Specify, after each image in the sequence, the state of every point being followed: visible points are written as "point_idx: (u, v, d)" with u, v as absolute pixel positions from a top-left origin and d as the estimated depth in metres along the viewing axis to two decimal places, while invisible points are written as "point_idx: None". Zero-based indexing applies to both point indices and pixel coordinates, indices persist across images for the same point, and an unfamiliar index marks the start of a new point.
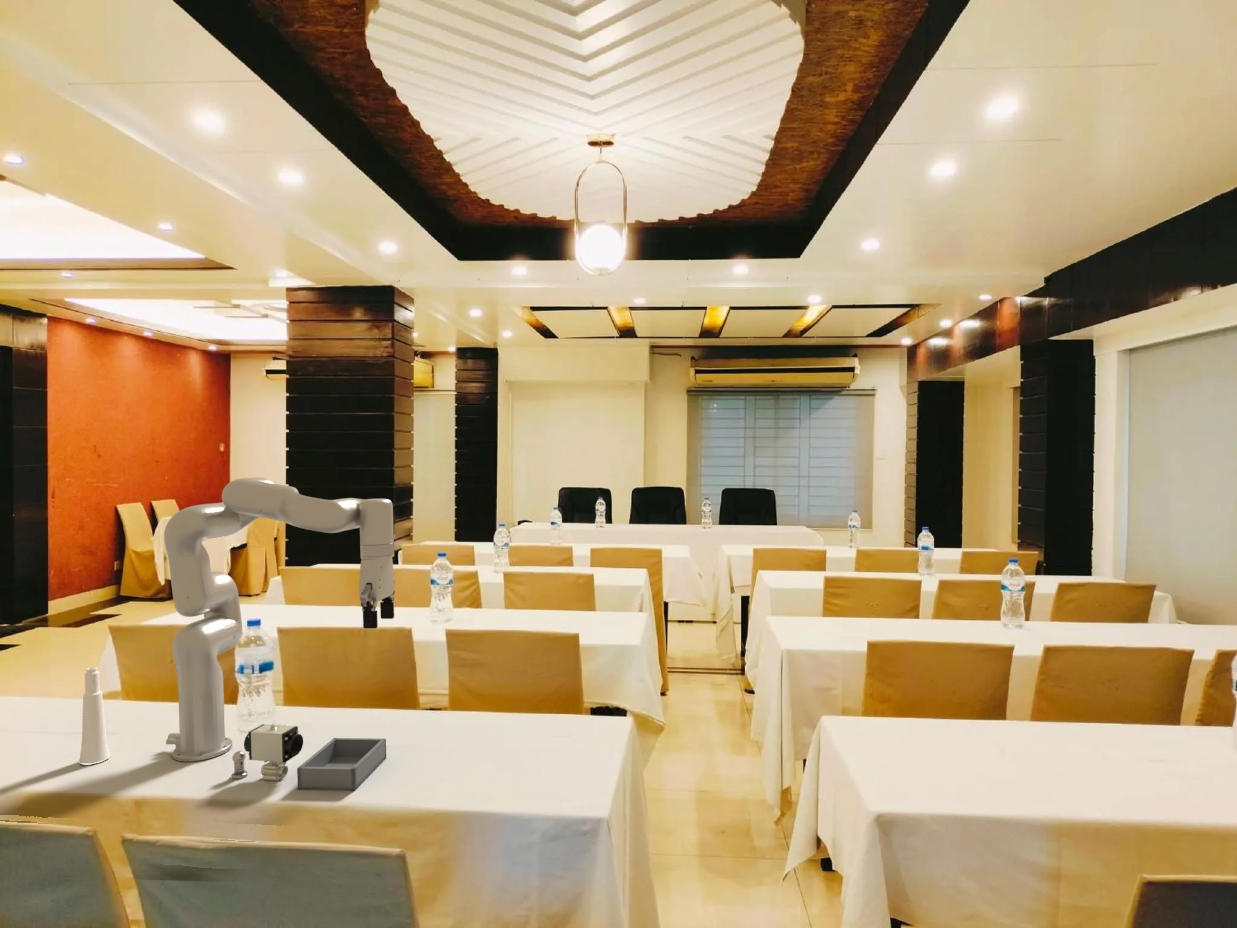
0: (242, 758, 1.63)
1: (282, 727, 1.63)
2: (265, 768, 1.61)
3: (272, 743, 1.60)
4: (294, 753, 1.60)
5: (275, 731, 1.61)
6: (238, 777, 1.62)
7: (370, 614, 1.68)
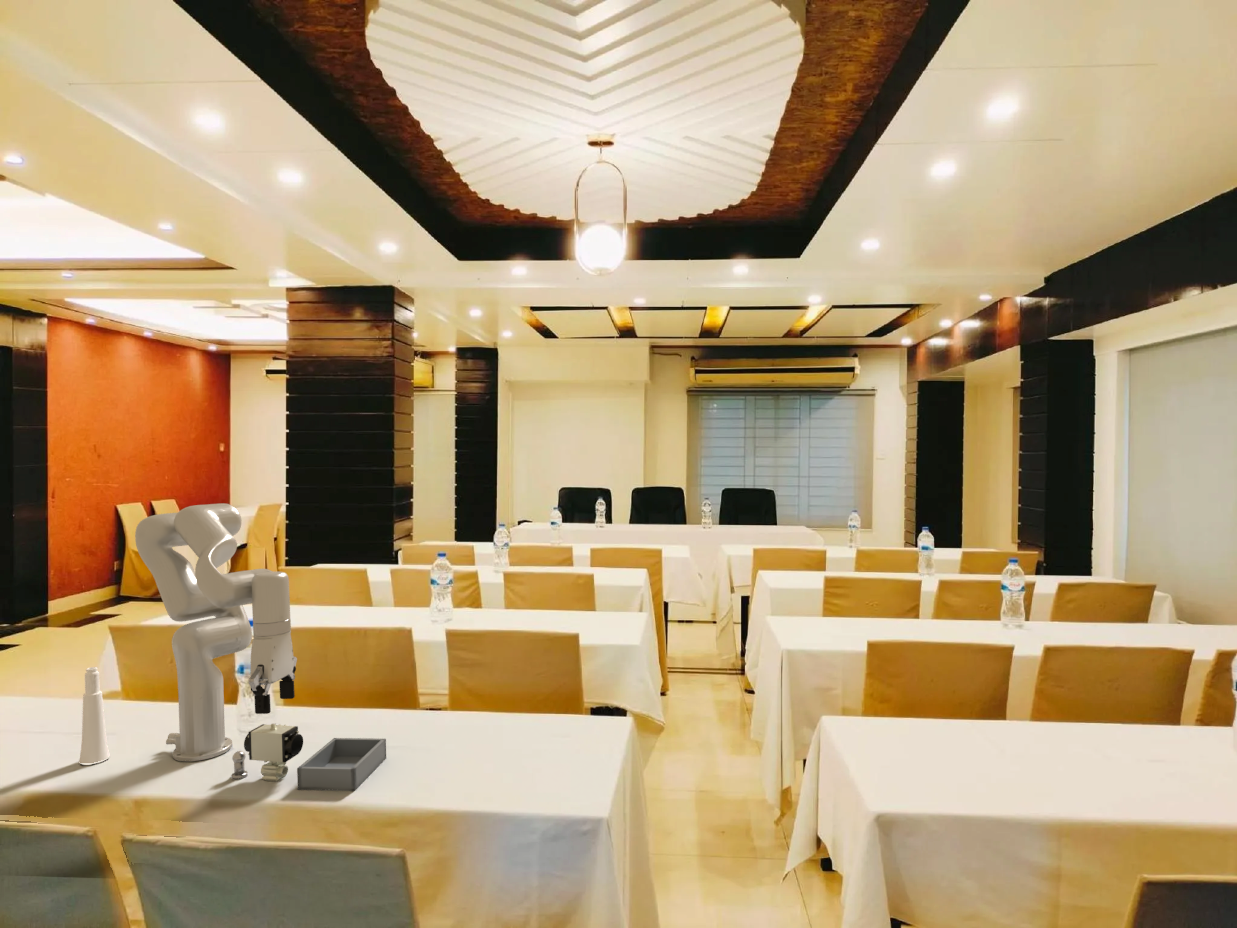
0: (242, 758, 1.63)
1: (282, 727, 1.63)
2: (265, 768, 1.61)
3: (272, 743, 1.60)
4: (294, 753, 1.60)
5: (275, 731, 1.61)
6: (238, 777, 1.62)
7: (262, 699, 1.56)
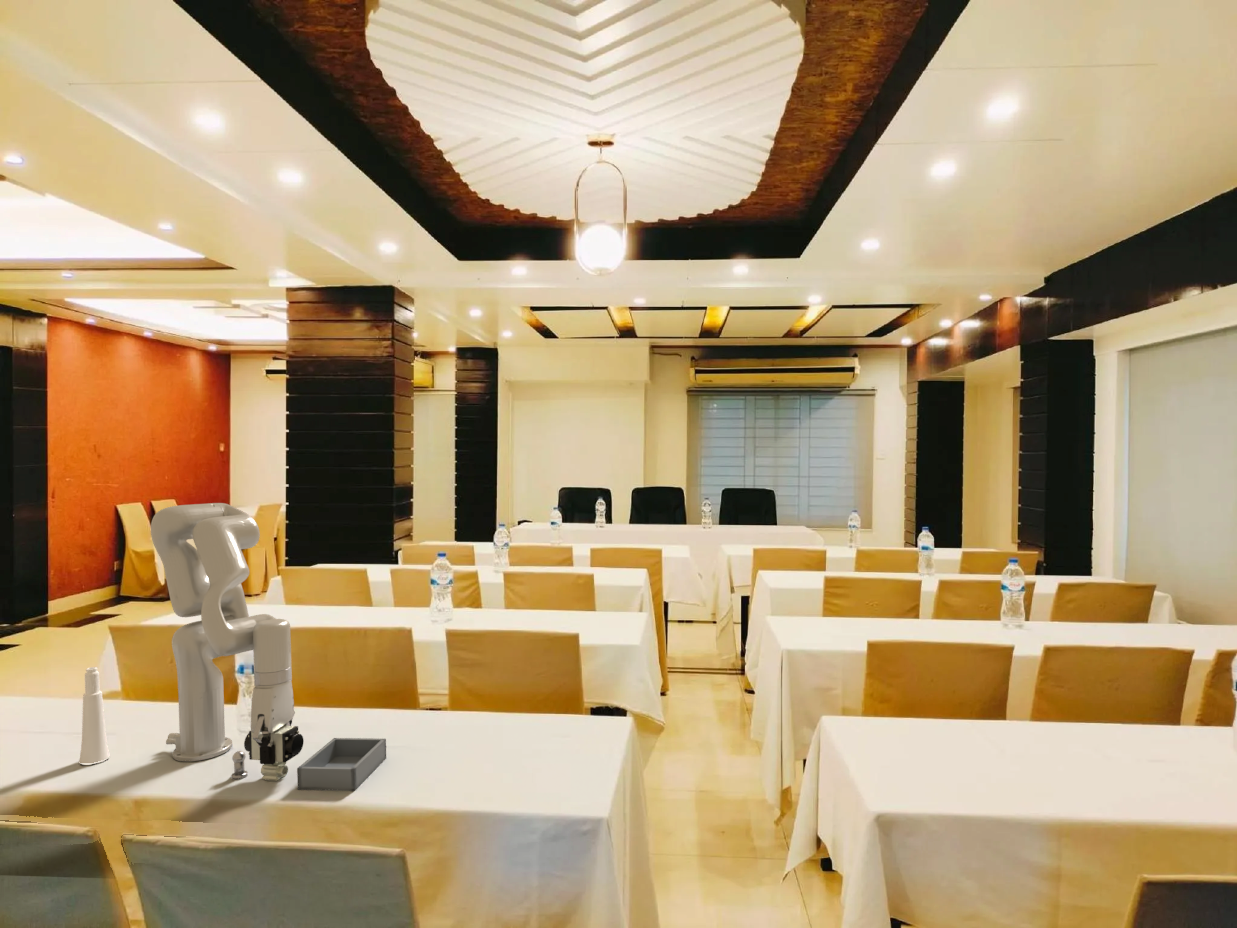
0: (242, 758, 1.63)
1: (282, 727, 1.63)
2: (265, 768, 1.61)
3: None
4: (294, 753, 1.60)
5: (275, 731, 1.61)
6: (238, 777, 1.62)
7: (267, 750, 1.58)
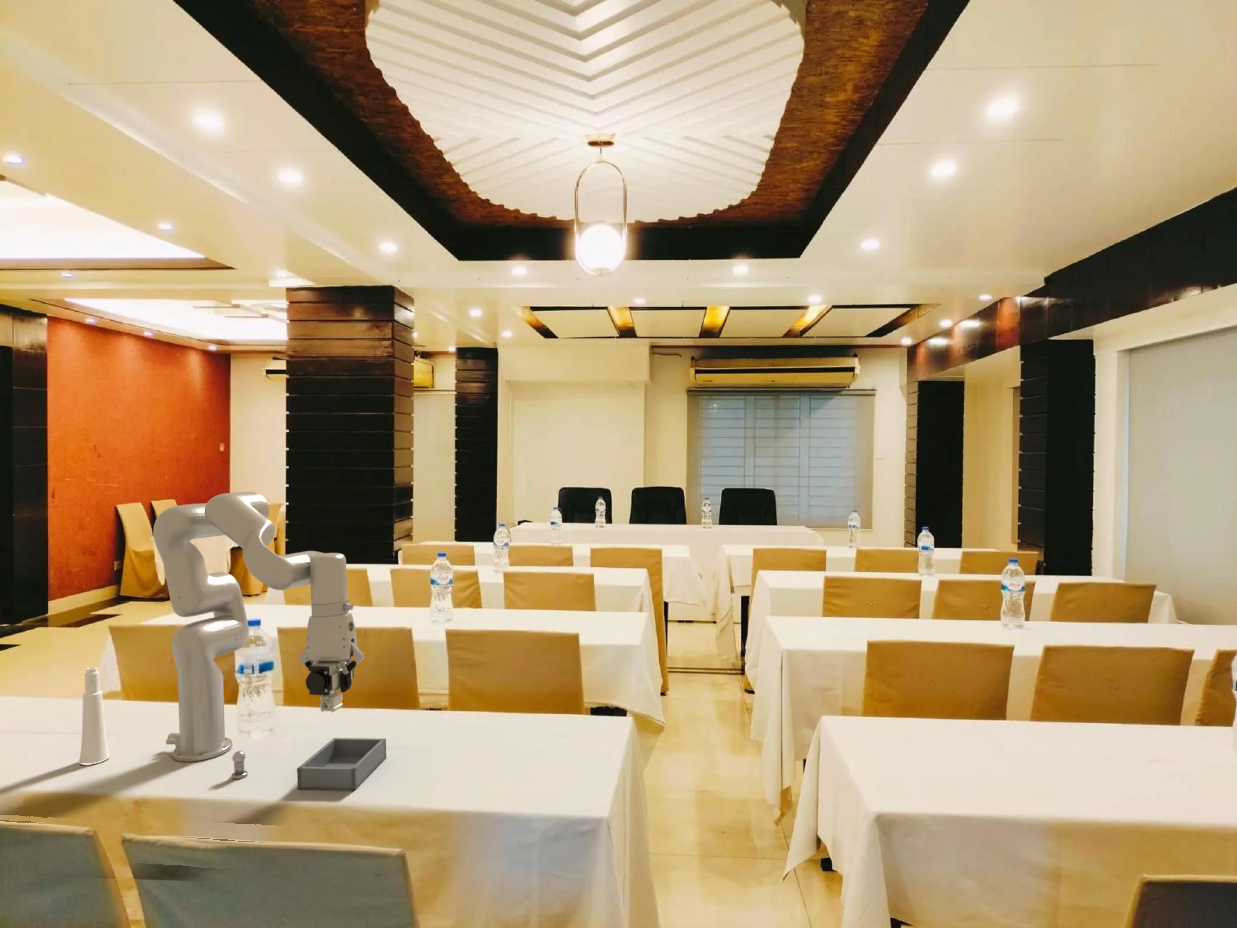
0: (242, 758, 1.63)
1: (331, 663, 1.62)
2: None
3: None
4: (310, 690, 1.58)
5: (321, 662, 1.62)
6: (238, 777, 1.62)
7: None
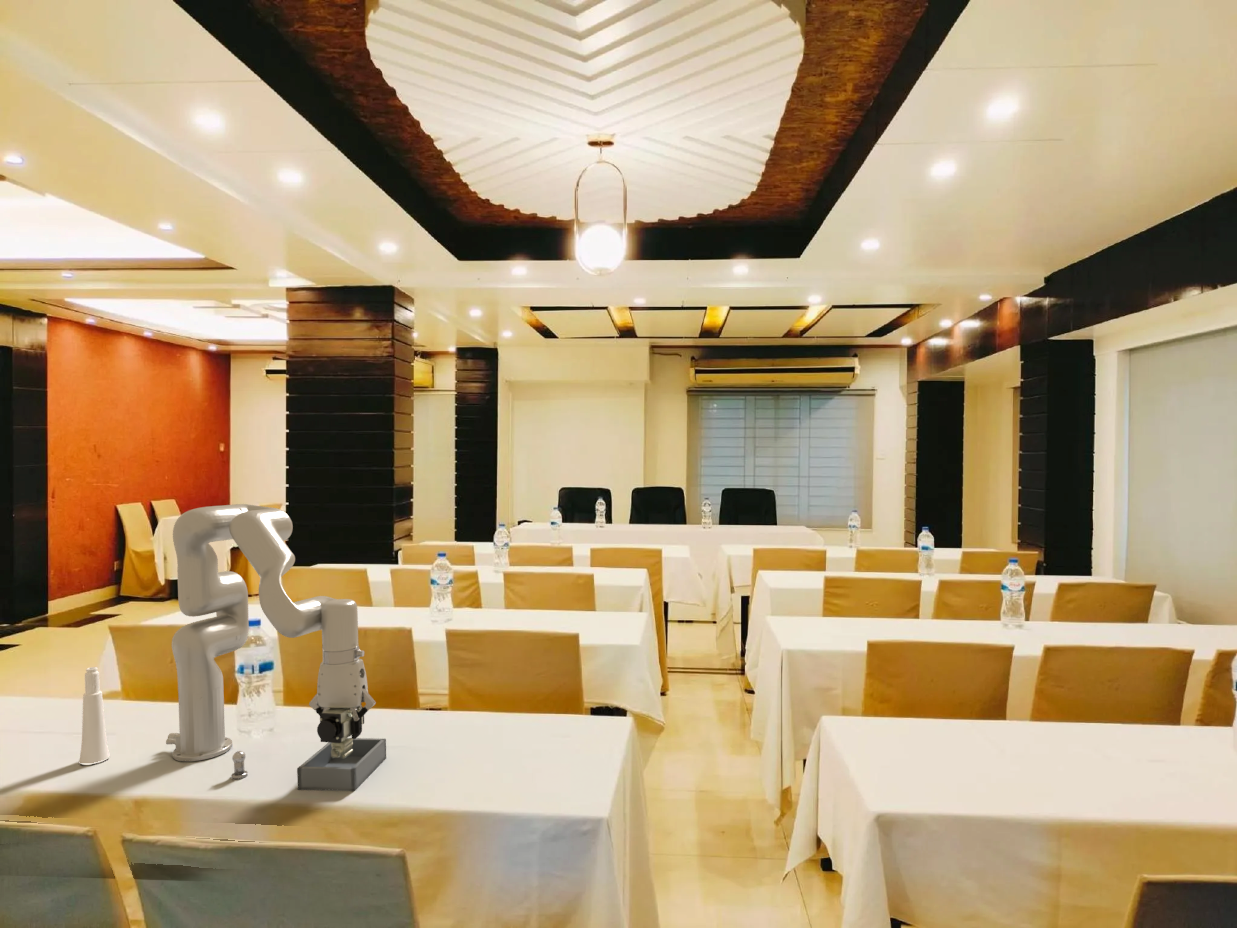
0: (242, 758, 1.63)
1: (342, 709, 1.62)
2: None
3: None
4: (321, 737, 1.58)
5: (332, 709, 1.63)
6: (238, 777, 1.62)
7: None
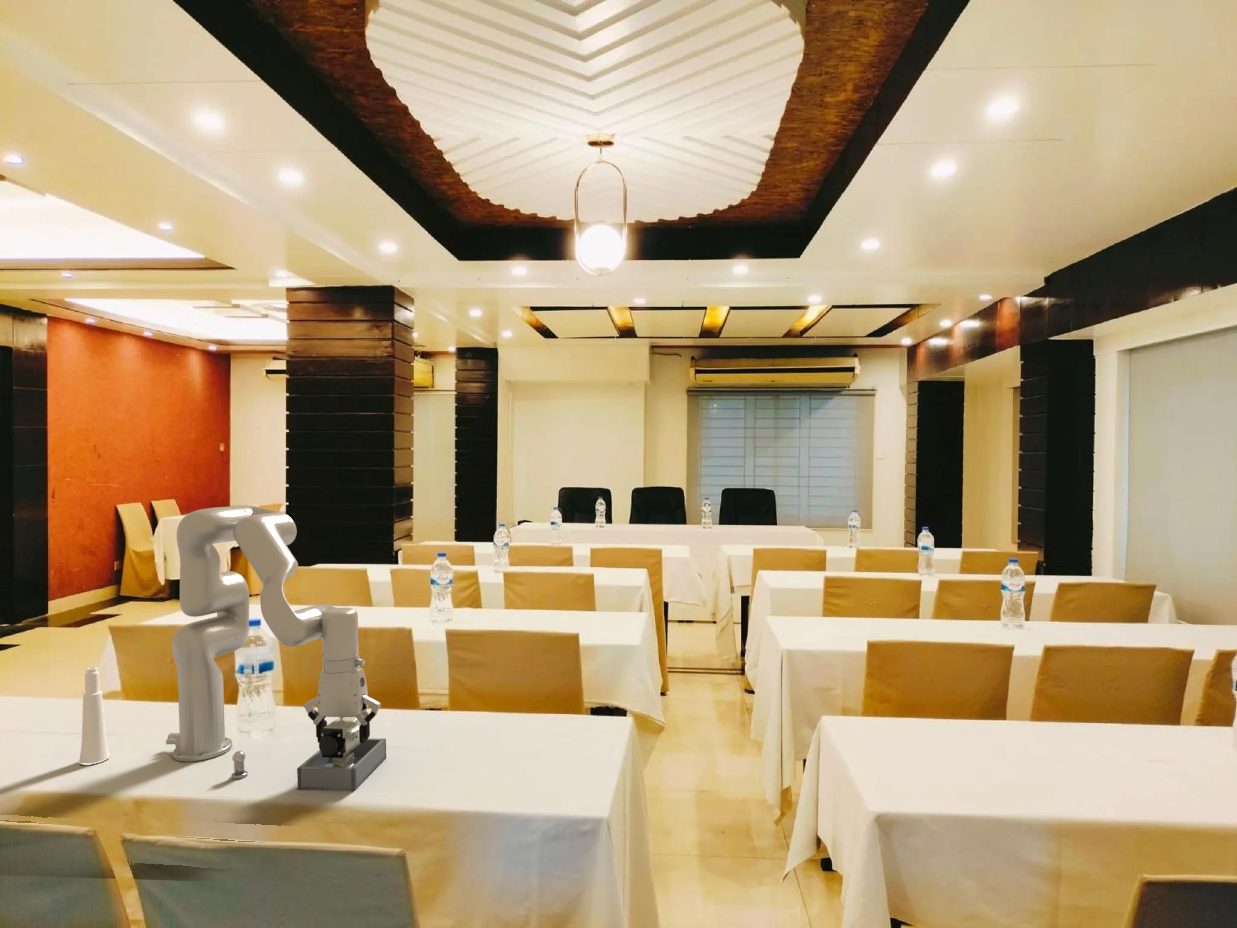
0: (242, 758, 1.63)
1: (343, 724, 1.62)
2: None
3: None
4: (323, 753, 1.58)
5: (333, 724, 1.63)
6: (238, 777, 1.62)
7: None
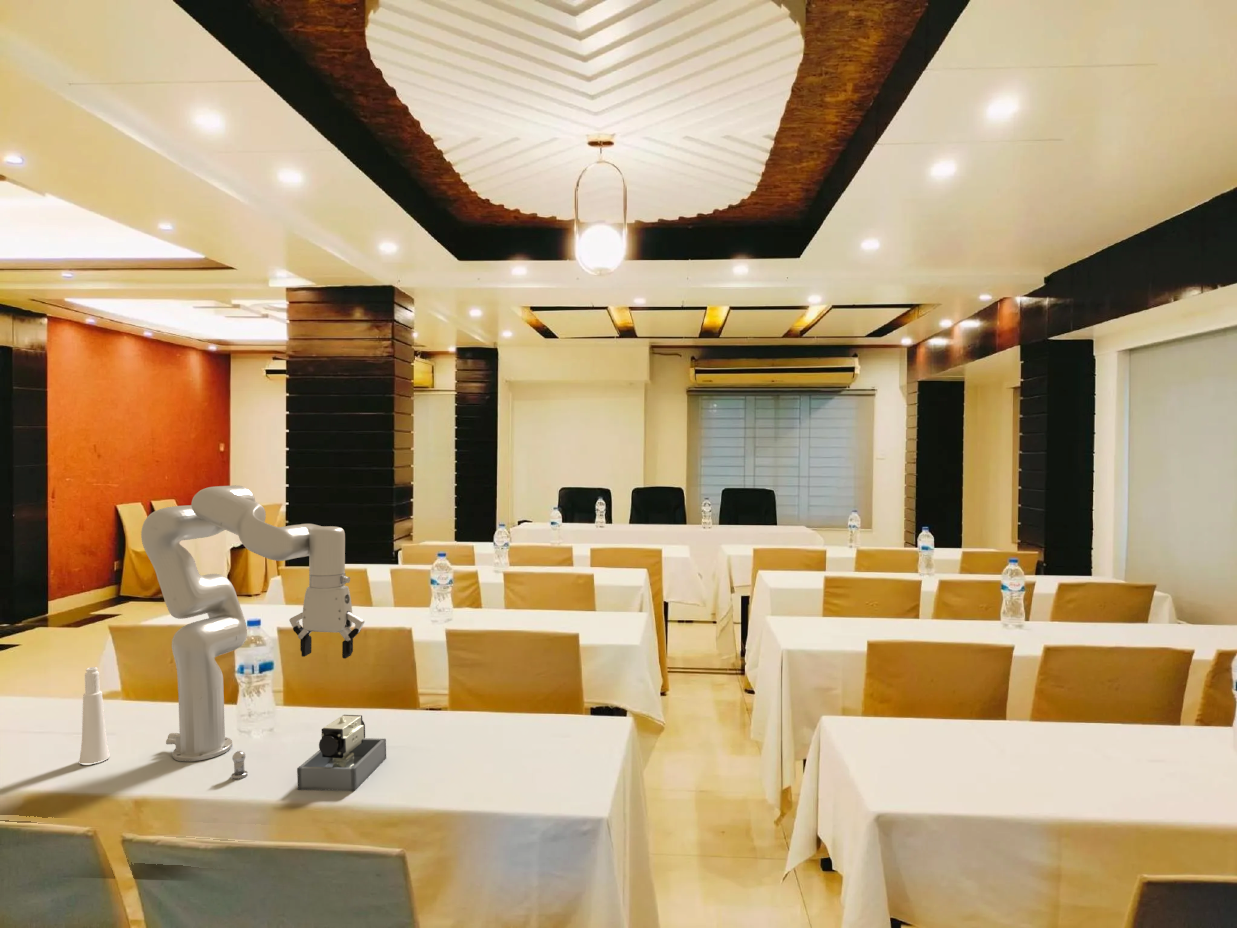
0: (242, 758, 1.63)
1: (343, 724, 1.62)
2: None
3: None
4: (323, 753, 1.58)
5: (334, 724, 1.63)
6: (238, 777, 1.62)
7: None
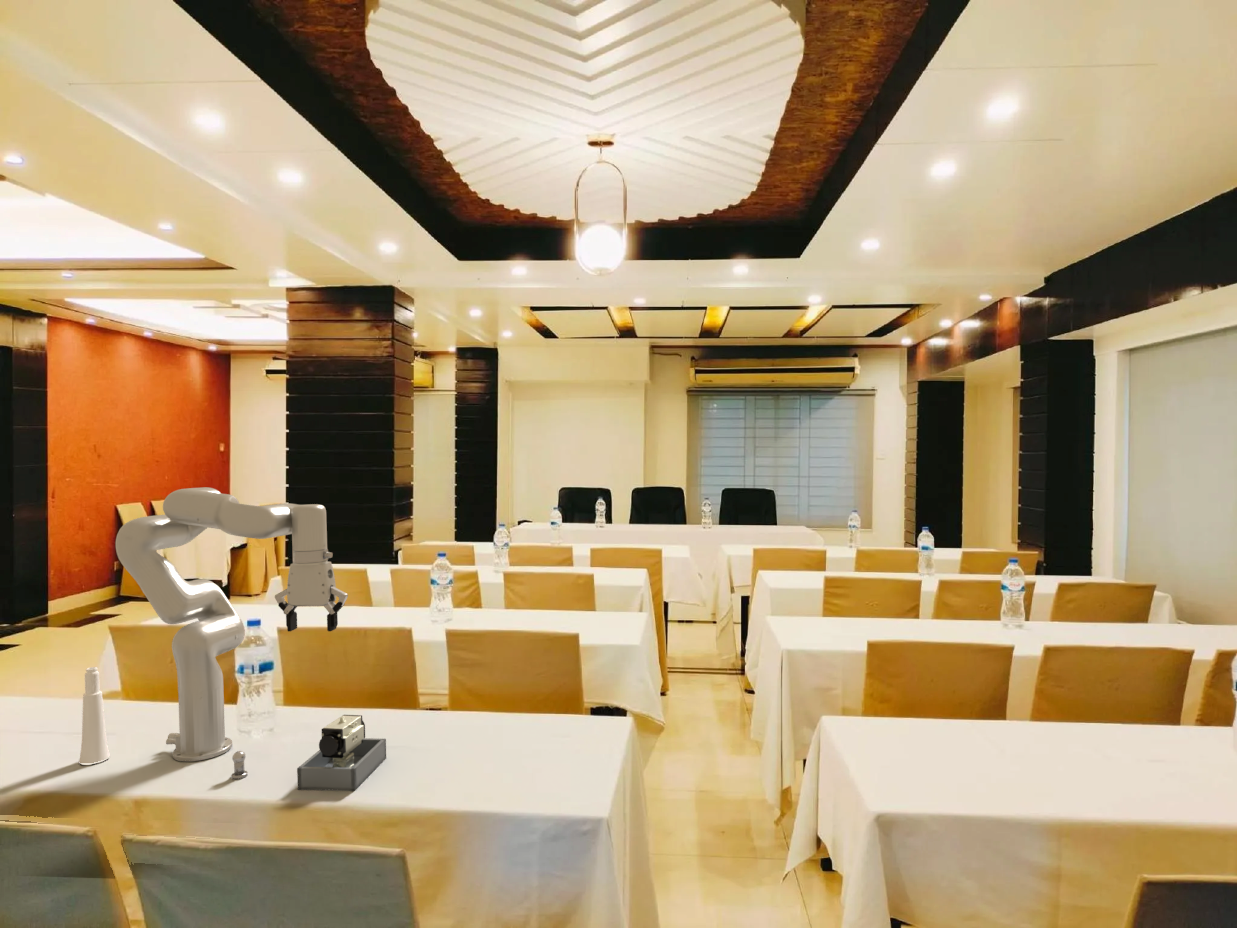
0: (242, 758, 1.63)
1: (343, 724, 1.62)
2: None
3: None
4: (323, 753, 1.58)
5: (334, 724, 1.63)
6: (238, 777, 1.62)
7: None
